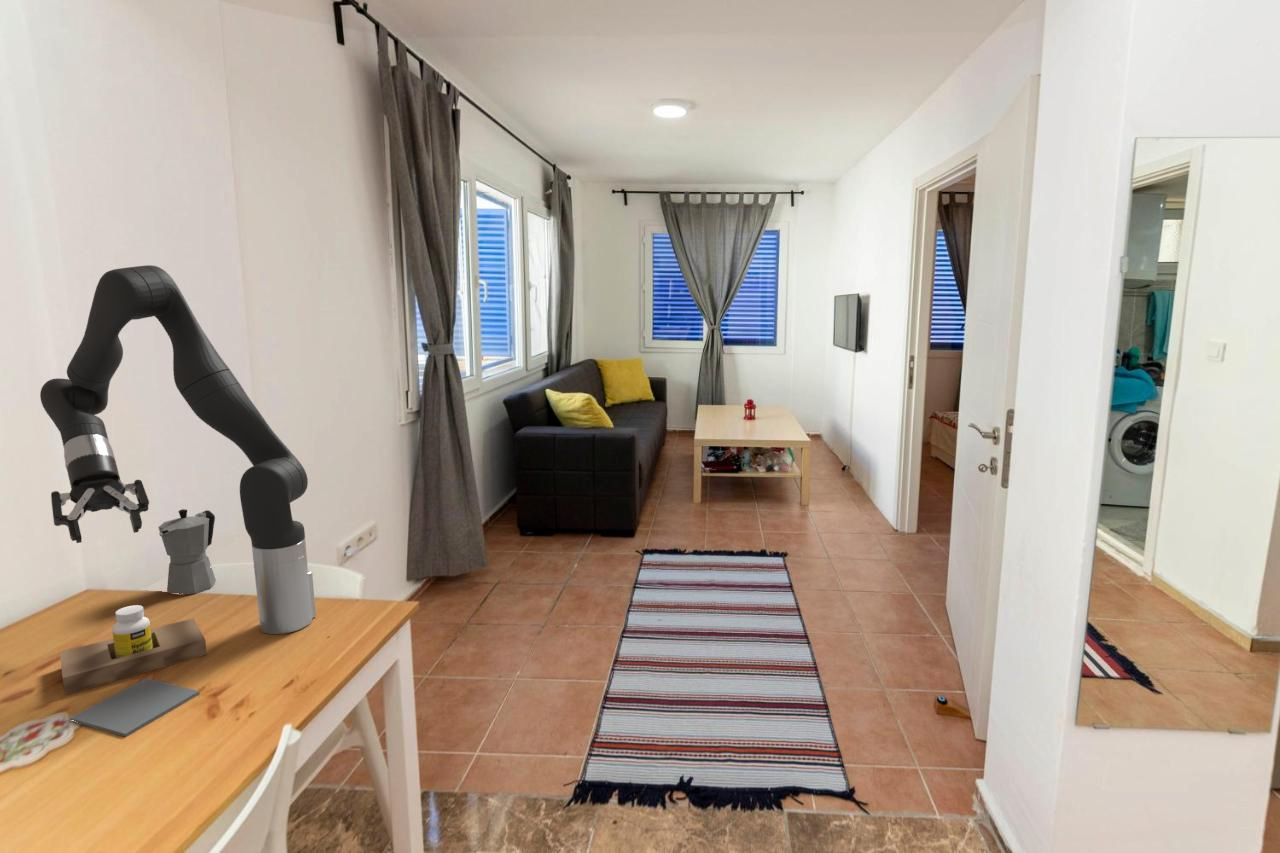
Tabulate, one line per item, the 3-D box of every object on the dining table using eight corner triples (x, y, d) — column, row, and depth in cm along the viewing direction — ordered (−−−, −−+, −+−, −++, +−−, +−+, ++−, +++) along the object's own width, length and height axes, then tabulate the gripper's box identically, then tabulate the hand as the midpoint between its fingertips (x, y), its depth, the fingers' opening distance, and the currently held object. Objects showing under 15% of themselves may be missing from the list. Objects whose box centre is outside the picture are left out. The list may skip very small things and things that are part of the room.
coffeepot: (189, 601, 149) (180, 520, 146) (149, 598, 150) (138, 518, 147) (238, 572, 164) (230, 498, 161) (200, 571, 165) (192, 497, 162)
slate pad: (146, 680, 118) (146, 677, 118) (199, 693, 115) (199, 691, 115) (69, 720, 107) (69, 717, 107) (125, 736, 104) (125, 733, 103)
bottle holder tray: (65, 694, 114) (62, 678, 114) (62, 668, 122) (59, 652, 122) (206, 654, 127) (205, 639, 127) (195, 632, 135) (193, 618, 135)
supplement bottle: (135, 670, 122) (127, 618, 120) (109, 667, 123) (101, 615, 121) (161, 655, 127) (155, 604, 125) (136, 652, 128) (129, 601, 126)
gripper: (42, 458, 128) (58, 534, 122) (137, 447, 138) (156, 517, 132) (43, 480, 133) (59, 554, 127) (135, 468, 142) (153, 536, 136)
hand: (108, 535), depth 129 cm, fingers open, 8 cm apart
